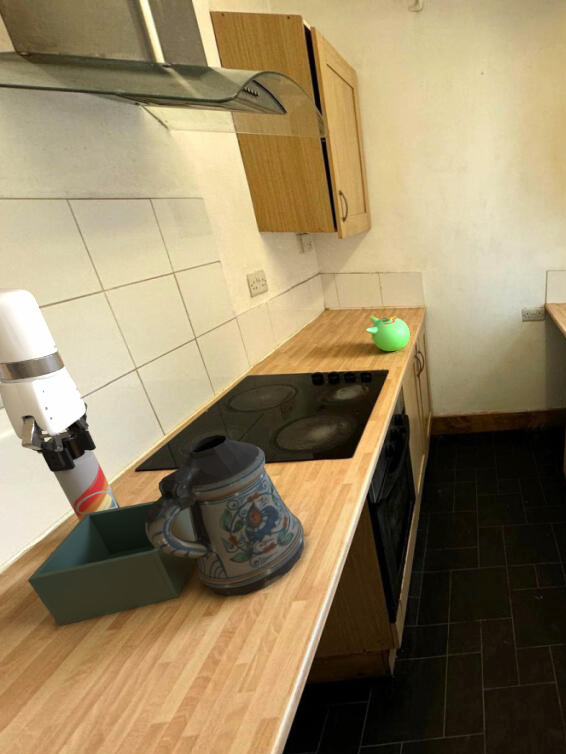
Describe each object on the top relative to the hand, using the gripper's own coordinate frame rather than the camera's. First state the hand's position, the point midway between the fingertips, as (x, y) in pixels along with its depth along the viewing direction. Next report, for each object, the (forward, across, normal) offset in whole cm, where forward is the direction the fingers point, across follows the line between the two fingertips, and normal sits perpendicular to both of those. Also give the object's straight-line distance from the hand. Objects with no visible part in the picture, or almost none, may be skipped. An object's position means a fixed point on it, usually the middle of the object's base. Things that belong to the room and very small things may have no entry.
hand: (74, 459), depth 75 cm
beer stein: (+17, +19, +29) cm, 38 cm away
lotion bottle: (+15, 0, 0) cm, 15 cm away
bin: (+17, +15, +11) cm, 25 cm away
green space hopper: (+15, -94, +60) cm, 112 cm away
